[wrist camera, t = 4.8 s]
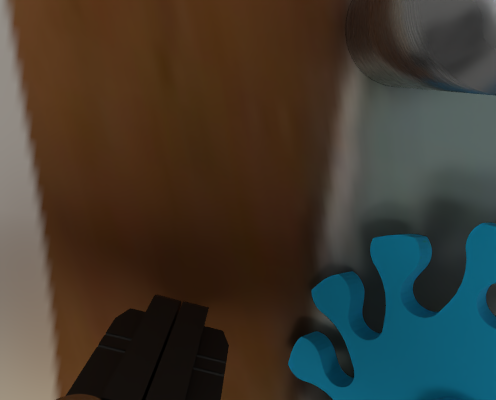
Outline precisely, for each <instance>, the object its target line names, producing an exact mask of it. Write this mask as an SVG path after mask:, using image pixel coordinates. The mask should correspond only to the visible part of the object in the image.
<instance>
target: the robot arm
mask: <svg viewBox="0 0 496 400" xmlns="http://www.w3.org/2000/svg"><path fill="white" fill-rule="evenodd" d="M180 307H181V308H180ZM208 309H209V307H205V306H200V305H196V304H192V303H188V302H184V301H183V303H182V305H181V301H179V300H175V299H171V298H167V297H163V296H159V295H155V296H154V297H153V299H152V301H151V303H150V305H149V307H148V309H147V311H146V312H143V311H139V310H135V309H129V310H127V311H126V312H124V313H123V314H121V315H120V316H118V317H116V318H115V319H114V321H113V323H112V324H111V326H110V327H109V329H108V330H107V332H106V335H104V337H103V338H102V340H101V341H100V343H99V345H98V347H97V348H96V349H95V351H94V352H93V354H92V356H91V357H90V359H89V360H88V362H87V363H86V365H85V367H84V368H83V370H82V371H81V373H80V374H79V376H78V378H77V379H76V381H75V382H74V384H73V385H72V387H71V389H70V390H69V392H68V393H67V395H66V396H64V397H61V398H59V399H56V400H221V393H222V386H223V380H224V373H225V366H226V360H227V353H228V347H229V345H228V343H227V340H226V337H225V335H224V332H223V331H222V330H218V329H213V328H209V327H205V326H204V325H205V321H206V317H207V313H208Z"/></svg>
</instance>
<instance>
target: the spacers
mask: <svg viewBox="0 0 496 400" xmlns="http://www.w3.org/2000/svg"><path fill="white" fill-rule="evenodd" d="M346 41H347V46H348V49H349V52H350V55H351V57H352V59H353V61H354V62H355V64H356V65H357V67H358V68H359V69H360V70H361V71H362V72H363V73H364V74H365V75H366V76H368V77H369V78H370V79H372V80H374V81H376V82H378V83H380V84H383V85H387V86H393V87H405V88H416V89H428V90H440V91H451V92H463V93H474V94H486V95H496V0H352V1H351V4H350V7H349V10H348V14H347V18H346Z"/></svg>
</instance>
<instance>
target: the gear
mask: <svg viewBox="0 0 496 400" xmlns="http://www.w3.org/2000/svg"><path fill="white" fill-rule="evenodd" d="M370 253H371V258H372V261H373V263H374V265H375V266H376V268H377V270H378V272H379V274H380V277H381V279H382V281H383V285H384V290H385V296H386V312H385V319H384V326H383V330H382V333H377V332H374V331H373V330H371V329H370V328H369V327H368V326H367V324H366V323H365V321H364V318H363V314H362V309H363V302H364V294H365V291H364V286H363V283H362V281H361V279H360V278H359V276H358V275H357V274H356V273H354V272H353V271H351V272H346V273H341V274H336V275H332V276H330V277H328V278H326V279H324V280H323V281H321V282H320V283H319V284H318V285H316V286H315V287H314V288H313V289H312V290H311V291H312V298H313V301H314V303H315V305H316V307H317V308H318V309H319V310H320V311H321V312H322V313H323V314H324V315H326V316H327V317H328V318H329V319H330V320H331V321H332V322H333V323H334V325H335V326H336V328H337V329H338V330H339V332H340V333H341V335H342V337H343V339H344V341H345V343H346V346H347V348H348V351H349V354H350V357H351V361H352V364H353V367H354V378H352V377H350V376H348V375H347V374H345V373H344V371H343V370H342V369H341V367H340V365H339V363H338V359H337V356H336V353H335V349H334V347H333V344H332V343H331V341H330V340H329V339H328V337H327V336H325V335H324V334H323V333H321V332H318V331H315V332H312V333H310V334H307V335H304V336H302V337H300V338H299V339H298V340H297V342H296V343H295V345H294V347H293V350H292V352H291V355H290V359H289V362H288V365H289V367H290V369H291V371H292V372H293V374H294V375H295V376H296V377H297V378H299V379H301V380H303V381H306V382H309V383H311V384H313V385H315V386H317V387H319V388H320V389H322V390H323V391H324V392H326V393H327V394H328V395H329V396H330V397H331V398H332V399H333V400H496V316H495V315H494V314H492V312H491V311H490V309H489V308H488V305H487V302H486V293H487V291H488V288H489V287H490V286H491V285H492V284H495V283H496V224H495V223H492V222H490V223H481V224H480V225H478V226H476V227H475V228H474V229H473V230H472V231H471V232H470V234H469V236H468V238H467V242H466V258H467V260H466V270H465V274H464V277H463V281H462V284H461V285H460V287H459V289H458V291H457V293H456V294H455V296H454V297H453V298H452V299H451V300H450V302H449V303H448V304H447V305H446V306H445V307H444V308H443V309H442V310H441V311H440V312H433V311H429V310H427V309H425V308H423V307H422V306H421V305H420V304H419V303H418V302H417V300H416V299H415V297H414V294H413V284H414V281H415V279H416V278H417V277H418V276H419V275H420V273H421V272H422V271H423V270H424V269H425V268H426V267H427V265H428V264H429V262H430V260H431V256H432V247H431V244H430V241H429V239H428V238H427V237H426V236H423V235H419V234H398V235H386V236H381V237H375V238H373V240H372V242H371V247H370Z"/></svg>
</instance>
